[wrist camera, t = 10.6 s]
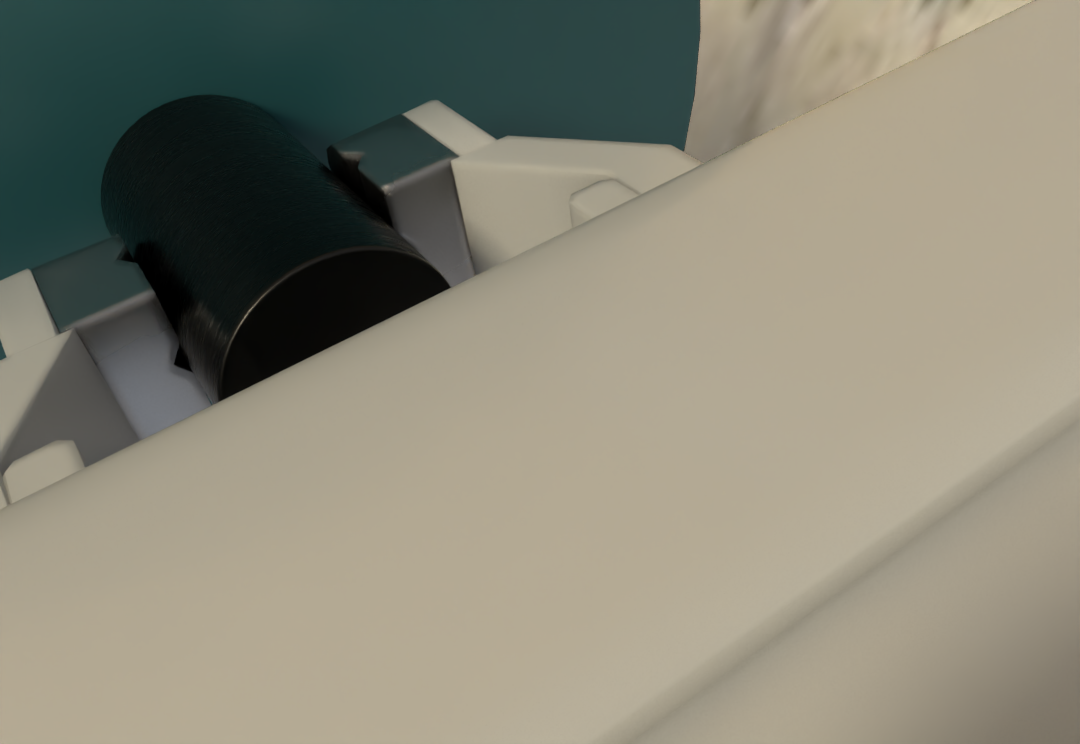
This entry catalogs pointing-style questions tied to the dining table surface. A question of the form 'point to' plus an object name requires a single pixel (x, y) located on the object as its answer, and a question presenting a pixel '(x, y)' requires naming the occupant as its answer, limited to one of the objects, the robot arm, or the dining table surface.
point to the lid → (292, 142)
